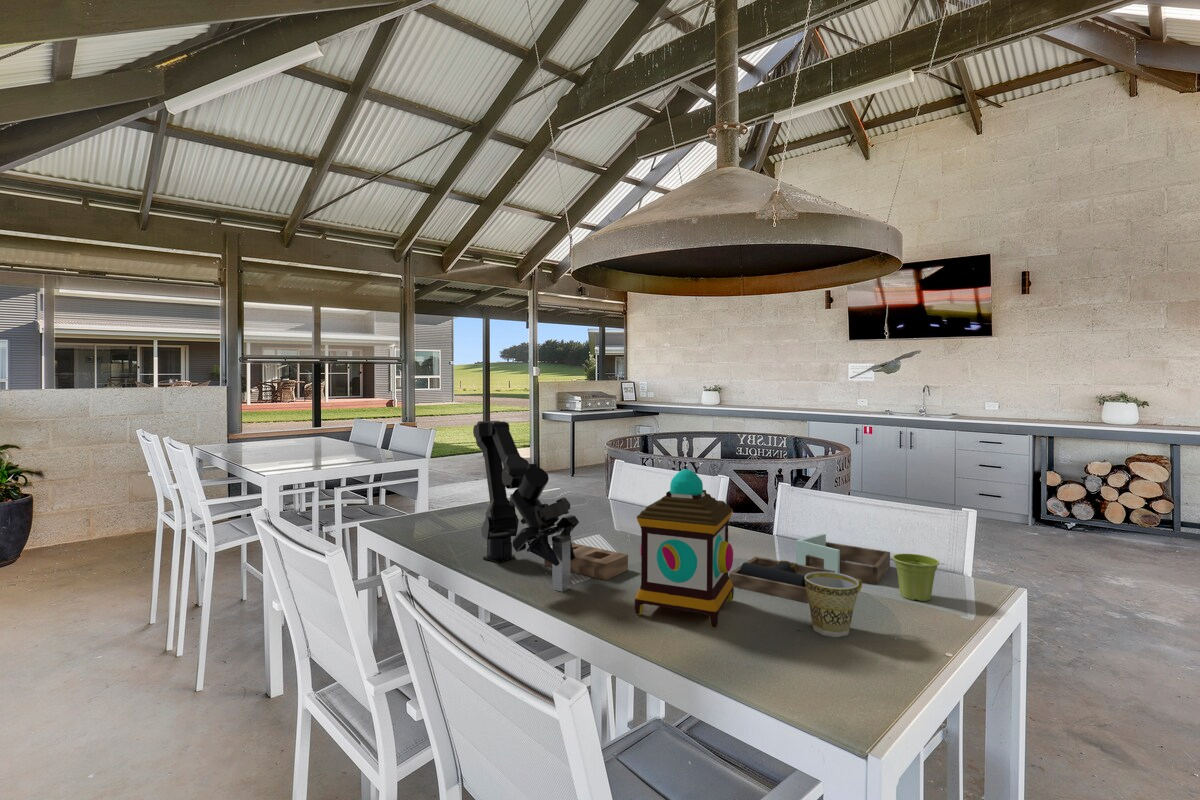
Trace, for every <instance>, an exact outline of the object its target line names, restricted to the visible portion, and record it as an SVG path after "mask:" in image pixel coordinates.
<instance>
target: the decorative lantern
mask: <svg viewBox="0 0 1200 800" xmlns="http://www.w3.org/2000/svg"><path fill="white" fill-rule="evenodd" d="M703 487H704V485H703V480H702V478H700V477H699V475H698V474H697V473H696V472H694V471H693V470H691V469H687V468H686V469H685V468H684V469H682V470H680V471H678V472H677V473H676V474H675V475H674V476H673V477H672V479H671V480H670V487H669V491H667V492H666V493H665V494H666V495H664V496H662V497H661V498H660V499H658V500H656V501H654V502H653V503H651V504H649V505H648V506H646V507H645V509H643V510H642V511H640V513H639V514H637V516H636V521H637V522H638V526H639V528H640V529H641V531H640V533H641V540H640V541H641V544H640V557H641V563H640V564H641V565H640V567H641V574H640V579H641V581H640V587H639V589H638V591H637V594H636V596H635V598H634V612H635V615H637V616H641V615H642V613H643V610H644V605H650V606H656V607H662V608H667V609H673V610H679V611H680V610H681V611H685V612H686V611H687V612H690V613H691V612H692V613H699V614H704V615H706V616H708V618H709V622H710V623H709V625H710V627H711V628H712V629H716V628H717V626H718V623H719V622H718V621H719V614H720V611H721V609H723V607H724V605H725V604H726V602H729V601H730V602H732V601H733V599H734V594H735V593H734V592H735V589H734V588H735V587H733V584H732V582H731V580H730V578H729V573H730V571H731V569H732V567H733V562H734V549H733V546H732V544H731V543H729V521H730V519H731V517H732V515H733V512H734V510H733V508H732V507H731V506H730V505H729V504H726V502H725V501H724V500H720V499H719V500H718V499H717V500H716V498H715V497H712V496H711V494H709V493H707V490H706V489H704V488H703Z"/></svg>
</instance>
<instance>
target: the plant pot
mask: <svg viewBox="0 0 1200 800" xmlns="http://www.w3.org/2000/svg"><path fill="white" fill-rule="evenodd" d="M892 559H893V561H894V566H895V567H896V572H897V573H896V574H897V580H898V586H899V587H898V589H899V593H900V595H901V597H903V598H905V599H907V600H911V601H914V600H918V601H920V602H926V601H930V600H932V599H931V598H932V592H933V587H934V582H935V581H934V580H935V575H936V571H937V570H938V566H939V565H940V561H939V560H938V559H937V558H934V557H931V556H927V555H923V554H918V553H917V554H916V553H896V554H893V555H892Z"/></svg>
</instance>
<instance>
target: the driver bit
mask: <svg viewBox="0 0 1200 800" xmlns="http://www.w3.org/2000/svg"><path fill="white" fill-rule="evenodd" d="M570 540H571V541H572V536H571V535H570V536H568V535H563V534H559V535H556V536H553V535H552V536H551V544H552V546H551V548H552V550H553V551H554V553H555V555H556V556H557V558H558V560H559V563H560V564H559V565H558V566H555V565H553V564H552V567H551V570H552V572H551V573H552V574H551V575H552V578H551V580H552V582H551V584H552V587H551V589H552V590H554V591H558V592H562V593H563V592H565V591H568V590H571V572H570Z"/></svg>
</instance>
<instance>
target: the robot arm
mask: <svg viewBox="0 0 1200 800" xmlns="http://www.w3.org/2000/svg"><path fill="white" fill-rule="evenodd" d="M472 433H473V437H474V439H475V442H476V446H477V447H478V448H479V449H480V450H481V452H482V453H483V459H484V464H485V465H484V466H485V467H484V468H485V473H486V480H487V486H488V487H487V489H488V496H489V497H488V498H489V505H488V506H487V509H486V511H485V518H484V521H483V523H482V526H481V537H483V539H485V540H486V542H487V544H486V551H487V552H486V553H487V555H484V556H482V559H483V560H487V561H491V562H494V563H498V564H500V563H502V562H506V561H509V560H511V559H514V558H516V555H514V554H513V549H514V551H516V553H518V552H519V553H520V552H522V551H525V550H526V552H527V553H532V554H534V555H536V556H538V557H540V558H542V559H543V560H544V561H545V560H547V561H548V562H550V563H552V564H553V565H555V566H558V565H559V564H560V563H559V560H558V558H557V556H556V555H555V553H554V551H553V550H552V546H551V544H550V542H549V536H552V537H553V536H556V535H559V534H563V535H568V536H571V532H572V531H573V530H574V529H575V527H577V526H578V524H580V521H579V520H578V518H577V516H576V515H572V514H570V515H567V514H569V510H570V509H571V503H570V501H569V500H568V499H567V498H566V497H560V498H558V499H557V500H556V502H554V503H550V504H548V503H542V501H541V500H540V498H539V497H541V495H542V493H543V492H544V489H545V488H546V486H547V483H548V482H549V479H550V478H549V474H548V473H547V472H546V471H545V469H543V468H541V467H538V464H537V463H536V462H535V463H529V461H528V460H527V459H525V458H523V456H521V455H520V453H519V450H518V447H517V446H516V442H515V441H514V438H513V436H512V434H511V431H510V424H509V422H507V421H505V420H504V421H503V420H502V421H501V420H483V421H482V420H478V422H477V423H476V424H475V425H474V426H473V429H472ZM508 489H509V490H513V489H515V490H514V491H513V493H512V494H510V495H509V497H510V498H509V499H508V496H507V490H508ZM516 510H517V511H518V513H519V515H520V516H521V517H522V518H521V520H519V518H518V515H517V512H516ZM563 515H566V516H564V517H561V516H563ZM559 517H561V519H560V518H559ZM519 521H520V523H521V525H525V524H526V525H527V527H524V528H522V529H521V530H520V531H519V532H518V527H519ZM512 537H514V538H513V539H512ZM526 543H527V544H526ZM572 543H573V542H572V539H571V540H570V559H571V560H573V559H574V558H575V555H574V551H573V547H572ZM527 545H528V547H527Z"/></svg>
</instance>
